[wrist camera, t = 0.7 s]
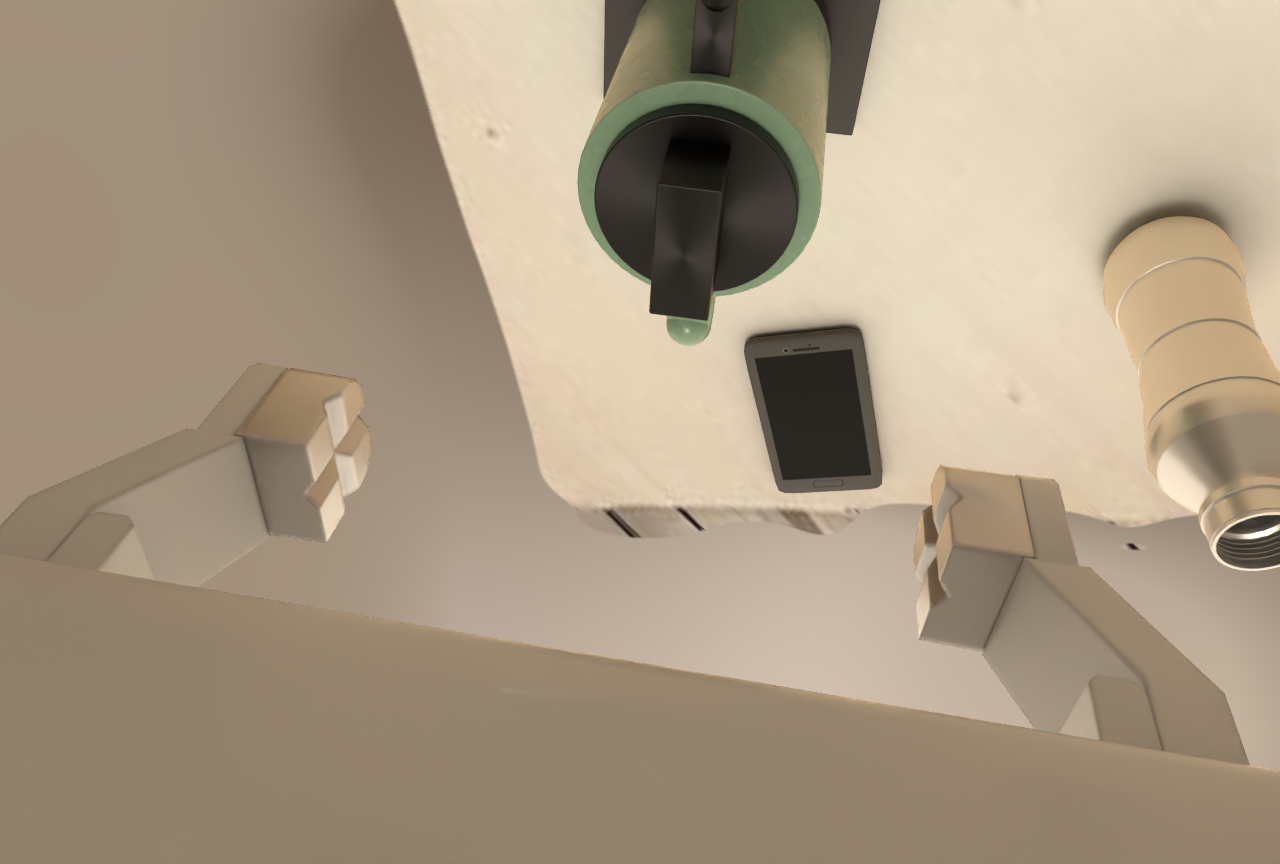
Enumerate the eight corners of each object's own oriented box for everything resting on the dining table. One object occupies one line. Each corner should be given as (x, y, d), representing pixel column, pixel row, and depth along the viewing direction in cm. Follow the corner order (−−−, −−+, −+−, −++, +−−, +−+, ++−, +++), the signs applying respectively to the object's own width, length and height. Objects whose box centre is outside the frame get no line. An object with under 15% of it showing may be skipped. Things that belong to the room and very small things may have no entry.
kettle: (642, -157, 41) (548, 5, 29) (865, -137, 40) (863, 39, 28) (629, 195, 53) (559, 413, 41) (801, 217, 52) (780, 445, 40)
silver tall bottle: (1259, 220, 51) (1404, 513, 37) (1177, 317, 56) (1278, 609, 42) (1143, 183, 51) (1245, 465, 37) (1070, 284, 55) (1136, 567, 41)
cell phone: (778, 487, 71) (778, 495, 70) (741, 336, 62) (740, 344, 61) (884, 481, 69) (884, 489, 68) (861, 324, 60) (861, 332, 59)
